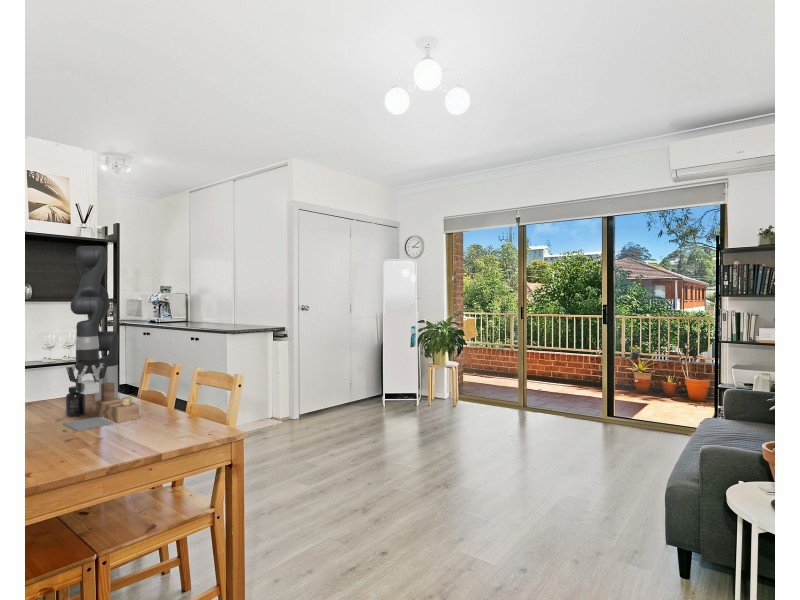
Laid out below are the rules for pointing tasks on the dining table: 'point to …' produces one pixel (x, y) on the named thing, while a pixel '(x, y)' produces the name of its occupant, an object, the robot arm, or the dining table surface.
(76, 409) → the supplement bottle
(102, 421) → the mat
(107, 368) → the robot arm
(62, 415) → the dining table surface
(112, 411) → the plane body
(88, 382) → the white rectangular block
